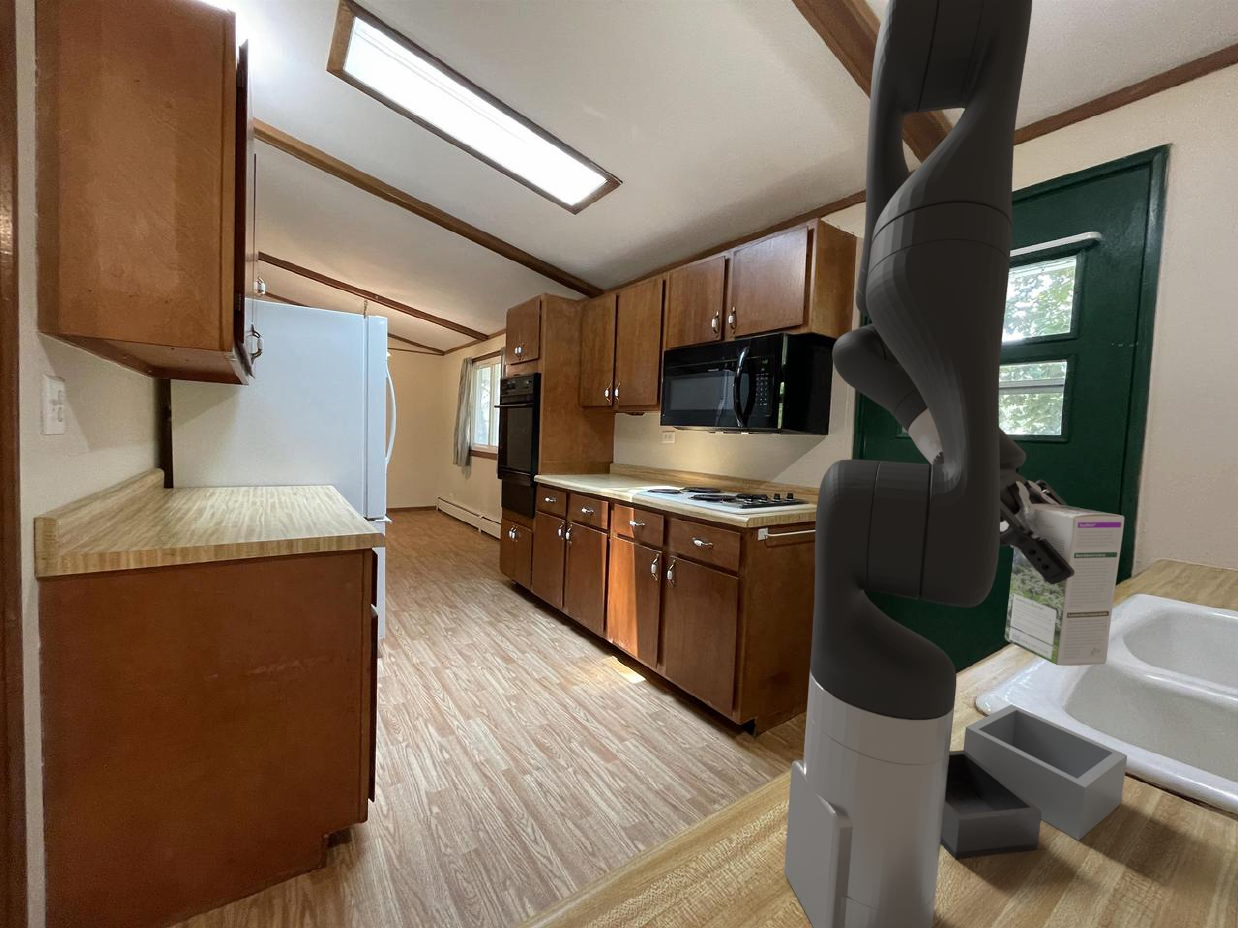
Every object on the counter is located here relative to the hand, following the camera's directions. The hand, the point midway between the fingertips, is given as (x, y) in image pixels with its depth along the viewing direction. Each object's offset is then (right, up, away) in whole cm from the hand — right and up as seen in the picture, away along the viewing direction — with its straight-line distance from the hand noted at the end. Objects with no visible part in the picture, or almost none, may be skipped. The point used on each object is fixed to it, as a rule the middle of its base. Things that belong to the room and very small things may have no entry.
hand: (1082, 574), depth 48 cm
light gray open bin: (-2, -22, +3) cm, 22 cm away
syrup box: (-1, -8, +2) cm, 9 cm away
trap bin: (-13, -22, -1) cm, 26 cm away
